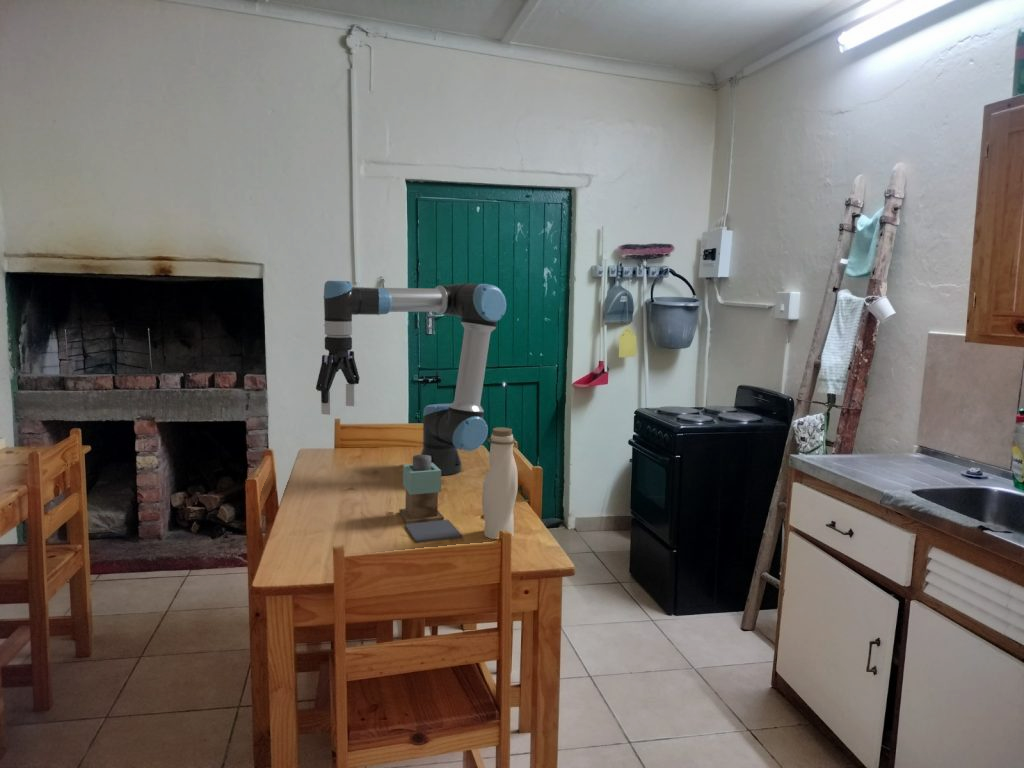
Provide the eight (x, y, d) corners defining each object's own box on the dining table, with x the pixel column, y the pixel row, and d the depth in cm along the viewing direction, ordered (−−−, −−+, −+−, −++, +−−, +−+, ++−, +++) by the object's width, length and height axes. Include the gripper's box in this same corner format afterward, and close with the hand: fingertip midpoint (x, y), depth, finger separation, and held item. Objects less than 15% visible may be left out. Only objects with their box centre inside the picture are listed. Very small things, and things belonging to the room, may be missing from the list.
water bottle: (480, 526, 182) (483, 424, 178) (513, 526, 183) (517, 424, 179) (481, 540, 172) (485, 432, 168) (517, 540, 173) (521, 433, 169)
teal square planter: (432, 483, 192) (432, 462, 192) (440, 492, 185) (441, 470, 184) (402, 485, 189) (403, 464, 188) (410, 494, 181) (410, 473, 181)
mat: (448, 521, 185) (448, 519, 185) (461, 537, 174) (461, 535, 174) (404, 526, 180) (404, 524, 180) (416, 542, 169) (416, 540, 169)
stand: (433, 509, 195) (434, 451, 192) (443, 520, 185) (444, 460, 183) (399, 512, 191) (399, 453, 188) (407, 524, 182) (408, 463, 179)
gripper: (348, 332, 204) (348, 401, 207) (301, 338, 180) (303, 416, 183) (370, 333, 202) (371, 403, 205) (327, 340, 178) (327, 419, 182)
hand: (339, 410), depth 194 cm, fingers open, 13 cm apart
